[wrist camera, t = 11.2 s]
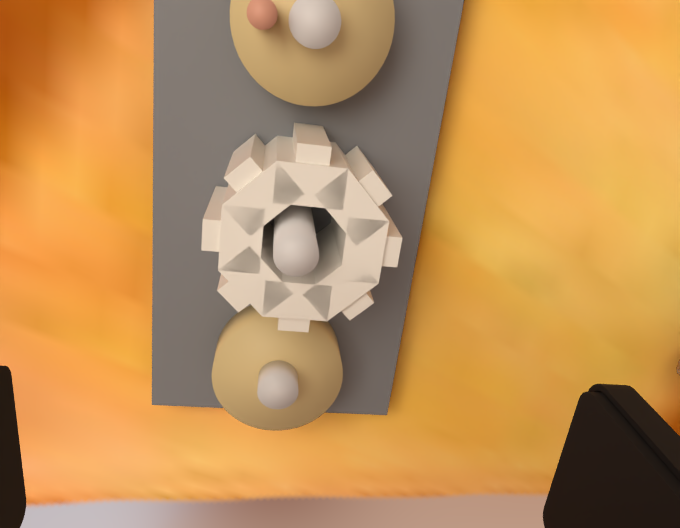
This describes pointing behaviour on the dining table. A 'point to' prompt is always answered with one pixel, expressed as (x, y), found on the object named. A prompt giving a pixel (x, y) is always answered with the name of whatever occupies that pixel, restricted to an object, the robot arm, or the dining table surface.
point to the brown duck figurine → (678, 368)
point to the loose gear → (333, 241)
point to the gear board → (232, 118)
